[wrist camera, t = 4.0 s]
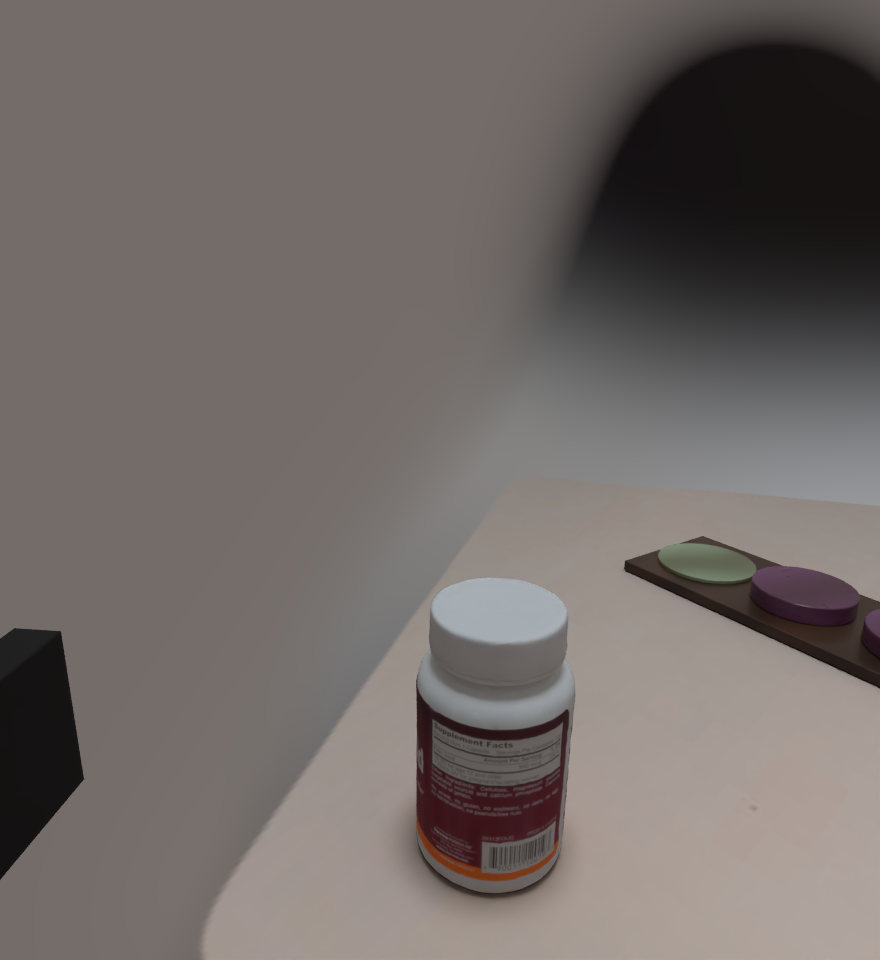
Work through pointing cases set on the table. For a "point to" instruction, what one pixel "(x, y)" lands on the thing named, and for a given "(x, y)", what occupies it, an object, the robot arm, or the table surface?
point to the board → (773, 601)
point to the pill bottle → (494, 734)
